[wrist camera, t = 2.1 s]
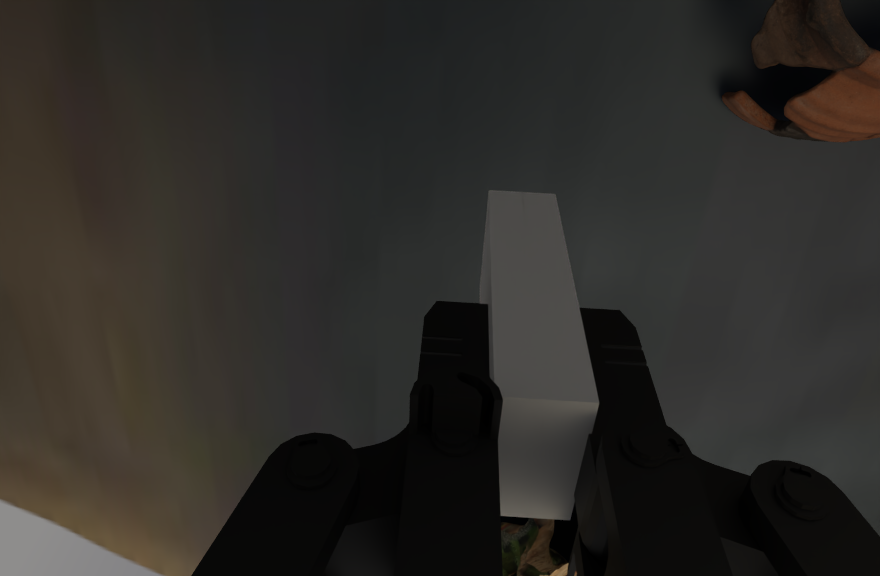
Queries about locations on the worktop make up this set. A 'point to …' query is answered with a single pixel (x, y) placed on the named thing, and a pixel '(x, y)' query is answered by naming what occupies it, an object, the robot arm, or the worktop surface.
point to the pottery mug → (820, 46)
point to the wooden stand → (531, 549)
